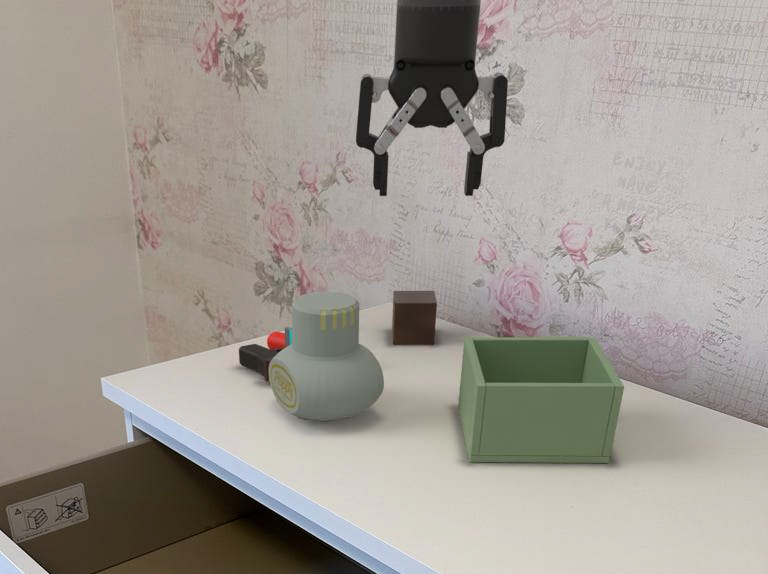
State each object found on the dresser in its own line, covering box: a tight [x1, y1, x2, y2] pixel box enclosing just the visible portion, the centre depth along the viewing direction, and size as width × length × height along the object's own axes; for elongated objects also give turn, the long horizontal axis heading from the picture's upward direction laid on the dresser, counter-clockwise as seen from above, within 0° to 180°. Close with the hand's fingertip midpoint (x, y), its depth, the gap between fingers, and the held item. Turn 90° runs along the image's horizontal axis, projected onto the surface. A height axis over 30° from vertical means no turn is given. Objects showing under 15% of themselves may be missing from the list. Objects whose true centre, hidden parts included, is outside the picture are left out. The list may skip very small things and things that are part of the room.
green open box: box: [457, 336, 625, 464], centre depth 81 cm, size 11×11×7 cm
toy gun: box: [238, 326, 292, 383], centre depth 96 cm, size 10×12×5 cm
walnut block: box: [391, 290, 438, 345], centre depth 102 cm, size 4×4×4 cm
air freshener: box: [269, 290, 385, 422], centre depth 85 cm, size 11×8×10 cm
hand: (425, 194), depth 95 cm, fingers open, 8 cm apart
